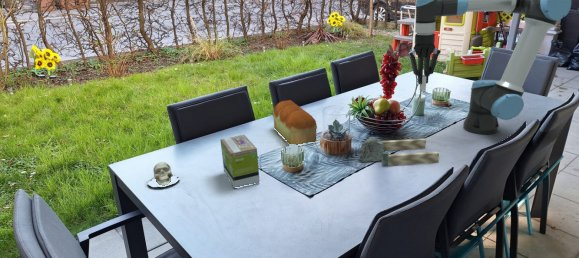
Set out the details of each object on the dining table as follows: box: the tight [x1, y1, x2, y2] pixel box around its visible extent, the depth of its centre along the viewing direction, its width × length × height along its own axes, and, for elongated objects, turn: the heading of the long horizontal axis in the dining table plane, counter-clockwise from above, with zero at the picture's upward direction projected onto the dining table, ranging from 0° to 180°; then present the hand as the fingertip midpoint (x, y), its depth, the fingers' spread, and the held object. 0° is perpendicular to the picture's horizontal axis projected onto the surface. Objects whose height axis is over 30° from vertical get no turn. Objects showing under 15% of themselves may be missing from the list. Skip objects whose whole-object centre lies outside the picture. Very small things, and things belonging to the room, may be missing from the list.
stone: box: [358, 136, 386, 163], centre depth 171 cm, size 10×10×10 cm
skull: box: [153, 161, 173, 186], centre depth 159 cm, size 12×10×10 cm
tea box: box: [220, 134, 261, 188], centre depth 157 cm, size 15×10×15 cm, turn 23°
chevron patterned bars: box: [377, 138, 440, 167], centre depth 172 cm, size 22×16×5 cm
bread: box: [272, 99, 318, 145], centre depth 196 cm, size 25×12×15 cm, turn 20°
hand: (422, 91), depth 174 cm, fingers closed
